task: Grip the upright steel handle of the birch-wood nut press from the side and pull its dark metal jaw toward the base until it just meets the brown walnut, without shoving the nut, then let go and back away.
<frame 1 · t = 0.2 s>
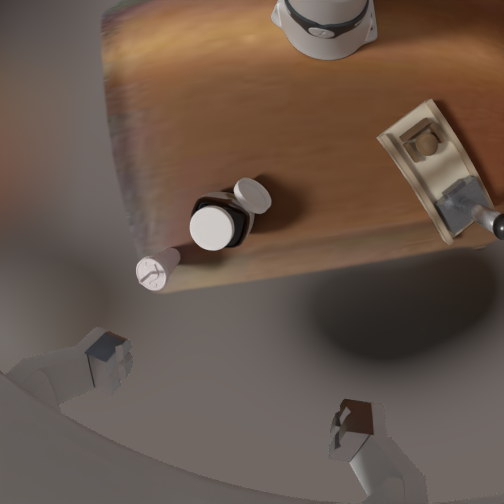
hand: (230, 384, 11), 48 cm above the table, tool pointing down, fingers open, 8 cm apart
smoothie: (172, 255, 64), on the table
press base: (438, 173, 49), on the table
spread jar: (237, 204, 58), on the table
walnut: (426, 144, 44), point 4 cm above the table, touching press base
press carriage: (480, 212, 39), point 11 cm above the table, slide at 0.0 cm
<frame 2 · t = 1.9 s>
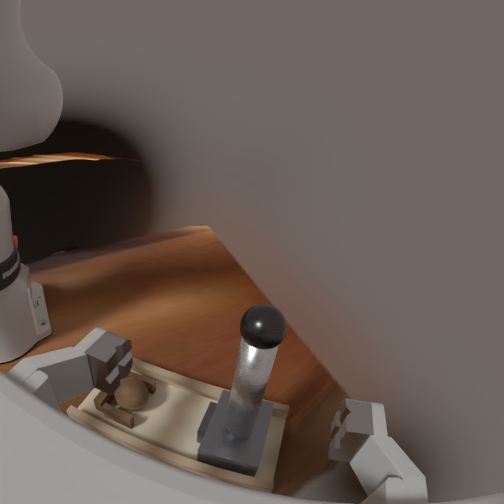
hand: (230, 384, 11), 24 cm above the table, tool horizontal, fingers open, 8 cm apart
press base: (183, 433, 32), on the table
walnut: (131, 393, 31), point 4 cm above the table, touching press base
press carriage: (244, 387, 27), point 11 cm above the table, slide at 0.0 cm
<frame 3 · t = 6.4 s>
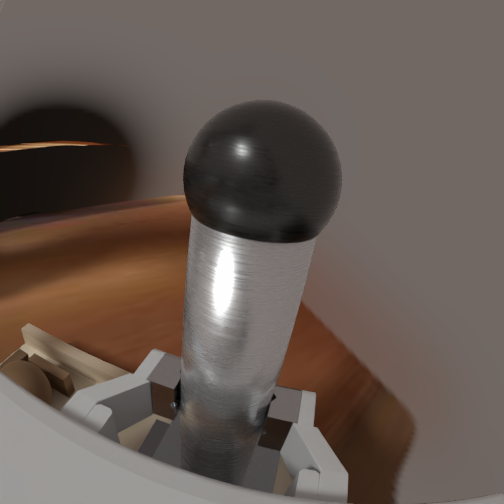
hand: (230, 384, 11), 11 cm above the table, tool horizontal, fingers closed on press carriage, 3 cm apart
press base: (116, 471, 15), on the table
walnut: (23, 391, 14), point 4 cm above the table, touching press base
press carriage: (213, 394, 10), point 11 cm above the table, slide at 0.0 cm, touching gripper
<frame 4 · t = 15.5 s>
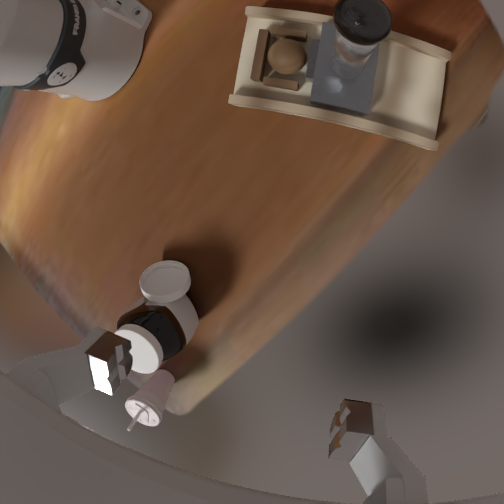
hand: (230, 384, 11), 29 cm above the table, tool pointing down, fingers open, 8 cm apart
smoothie: (165, 376, 53), on the table
press base: (347, 75, 31), on the table
spread jar: (172, 295, 46), on the table
walnut: (287, 56, 28), point 4 cm above the table, touching press base
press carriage: (347, 47, 21), point 11 cm above the table, slide at 6.5 cm
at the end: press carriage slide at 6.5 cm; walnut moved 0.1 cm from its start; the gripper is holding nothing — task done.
